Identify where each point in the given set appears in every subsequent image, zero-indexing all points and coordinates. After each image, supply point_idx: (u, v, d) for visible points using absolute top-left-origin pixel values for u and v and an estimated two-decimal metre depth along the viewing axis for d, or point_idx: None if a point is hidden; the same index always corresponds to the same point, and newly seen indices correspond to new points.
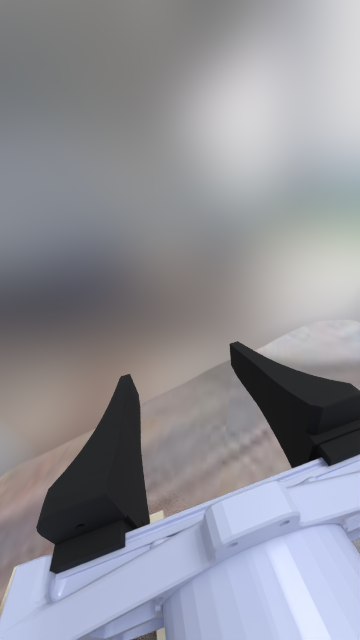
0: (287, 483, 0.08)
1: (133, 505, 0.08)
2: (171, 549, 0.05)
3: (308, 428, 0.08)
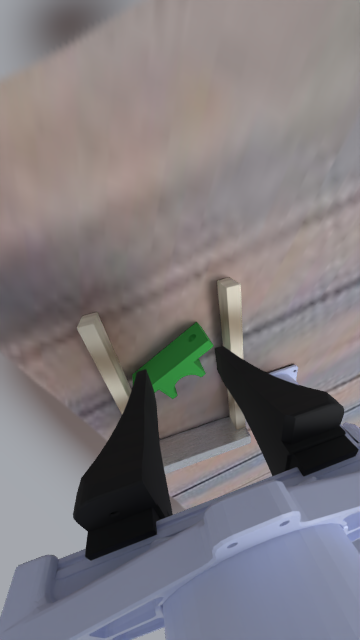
0: (287, 483, 0.08)
1: (160, 495, 0.08)
2: (171, 549, 0.05)
3: (283, 437, 0.08)
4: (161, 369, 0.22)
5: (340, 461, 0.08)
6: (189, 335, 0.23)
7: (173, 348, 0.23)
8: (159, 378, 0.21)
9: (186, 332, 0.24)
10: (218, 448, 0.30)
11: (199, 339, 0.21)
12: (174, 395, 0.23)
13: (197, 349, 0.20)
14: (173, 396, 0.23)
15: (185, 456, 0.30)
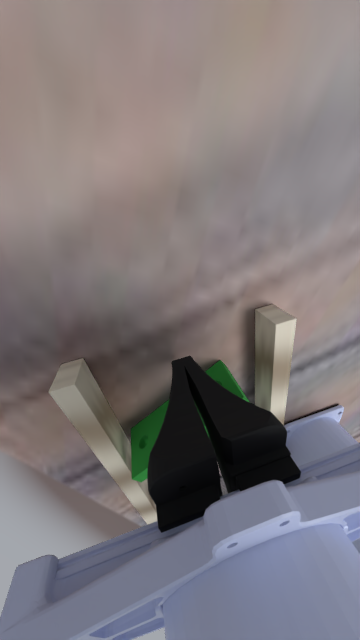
0: (287, 483, 0.08)
1: None
2: (171, 549, 0.05)
3: (226, 458, 0.08)
4: None
5: None
6: None
7: None
8: None
9: None
10: None
11: None
12: None
13: None
14: None
15: None
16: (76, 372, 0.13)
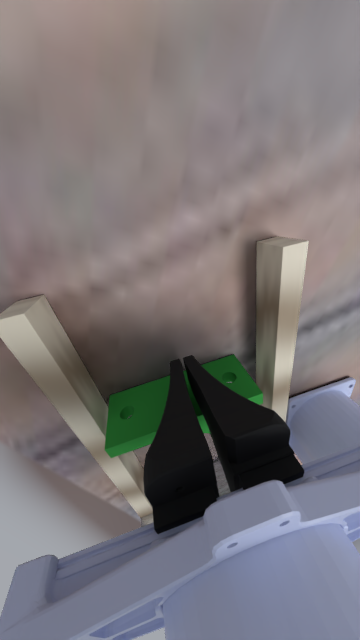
0: (287, 483, 0.08)
1: None
2: (171, 549, 0.05)
3: (229, 457, 0.08)
4: None
5: (286, 482, 0.07)
6: (223, 371, 0.15)
7: None
8: None
9: (217, 364, 0.16)
10: None
11: (244, 385, 0.14)
12: None
13: None
14: None
15: None
16: (30, 305, 0.10)
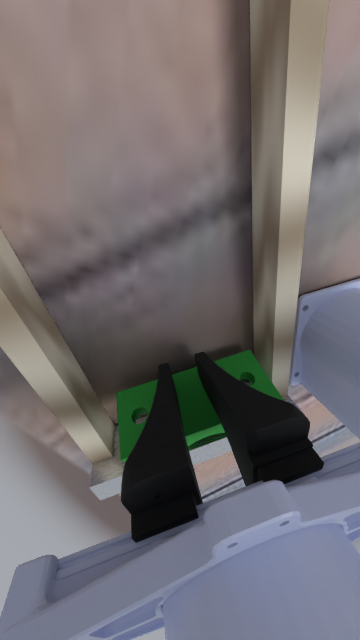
0: (287, 483, 0.08)
1: (196, 482, 0.08)
2: (171, 549, 0.05)
3: (249, 450, 0.08)
4: (185, 414, 0.13)
5: (305, 475, 0.07)
6: (240, 370, 0.14)
7: None
8: None
9: (232, 361, 0.15)
10: None
11: (264, 389, 0.13)
12: None
13: None
14: None
15: None
16: None
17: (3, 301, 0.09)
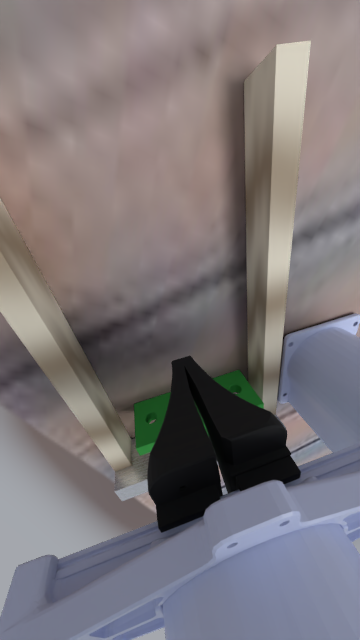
0: (287, 483, 0.08)
1: None
2: (171, 549, 0.05)
3: (226, 458, 0.08)
4: None
5: (282, 484, 0.07)
6: (230, 384, 0.18)
7: None
8: None
9: (224, 377, 0.19)
10: None
11: (248, 396, 0.17)
12: None
13: None
14: None
15: None
16: None
17: (62, 360, 0.12)
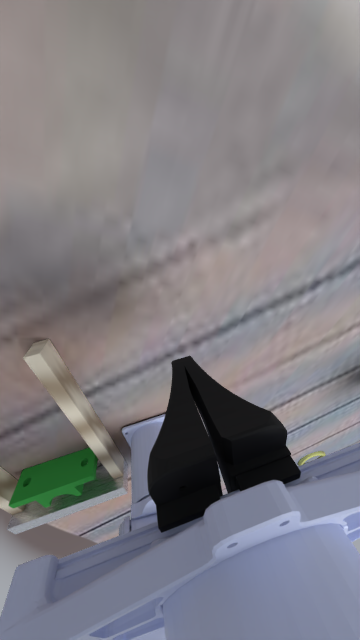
0: (287, 483, 0.08)
1: None
2: (171, 549, 0.05)
3: (226, 458, 0.08)
4: (46, 482, 0.26)
5: (283, 484, 0.07)
6: (84, 457, 0.28)
7: (66, 463, 0.28)
8: (40, 492, 0.25)
9: (84, 451, 0.29)
10: (87, 501, 0.28)
11: (87, 469, 0.27)
12: (48, 505, 0.27)
13: (80, 480, 0.26)
14: (46, 506, 0.27)
15: (51, 510, 0.28)
16: None
17: None
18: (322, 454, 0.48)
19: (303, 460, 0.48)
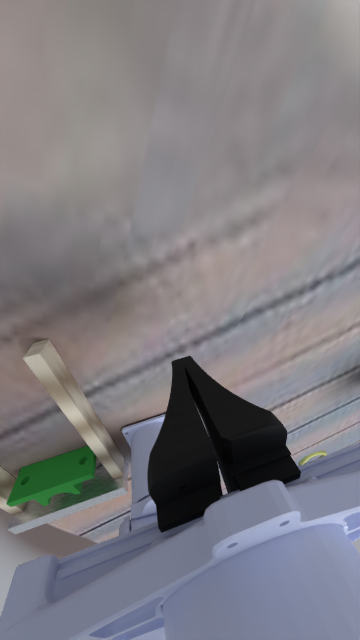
0: (287, 483, 0.08)
1: None
2: (171, 549, 0.05)
3: (226, 458, 0.08)
4: (45, 480, 0.26)
5: None
6: (83, 455, 0.28)
7: (65, 462, 0.28)
8: (38, 490, 0.25)
9: (83, 449, 0.29)
10: (87, 500, 0.28)
11: (86, 467, 0.27)
12: (46, 504, 0.27)
13: (79, 478, 0.26)
14: (45, 504, 0.27)
15: (51, 510, 0.28)
16: None
17: None
18: (323, 453, 0.49)
19: (303, 461, 0.48)
